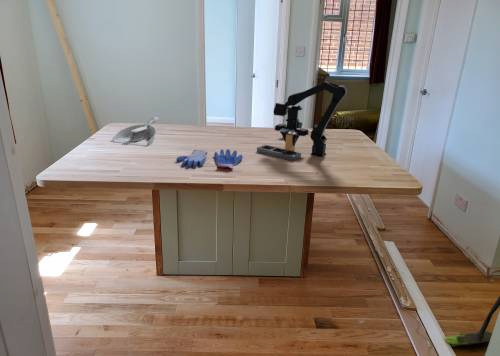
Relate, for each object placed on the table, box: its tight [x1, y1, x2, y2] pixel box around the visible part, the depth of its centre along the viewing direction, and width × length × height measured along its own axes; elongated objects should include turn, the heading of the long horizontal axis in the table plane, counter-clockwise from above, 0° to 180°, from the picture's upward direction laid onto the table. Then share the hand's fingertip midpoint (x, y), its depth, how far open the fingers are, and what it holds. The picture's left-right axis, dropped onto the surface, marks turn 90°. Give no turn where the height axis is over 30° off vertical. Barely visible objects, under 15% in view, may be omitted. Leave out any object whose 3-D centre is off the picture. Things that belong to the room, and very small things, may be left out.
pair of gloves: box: [176, 148, 244, 172], centre depth 196 cm, size 32×26×4 cm
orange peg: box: [284, 133, 296, 151], centre depth 218 cm, size 4×4×9 cm
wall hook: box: [282, 121, 295, 134], centre depth 242 cm, size 9×10×10 cm
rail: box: [256, 144, 302, 162], centre depth 210 cm, size 23×8×2 cm, turn 54°
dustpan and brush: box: [112, 116, 159, 147], centre depth 230 cm, size 23×33×10 cm
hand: (290, 144), depth 219 cm, fingers open, 5 cm apart
